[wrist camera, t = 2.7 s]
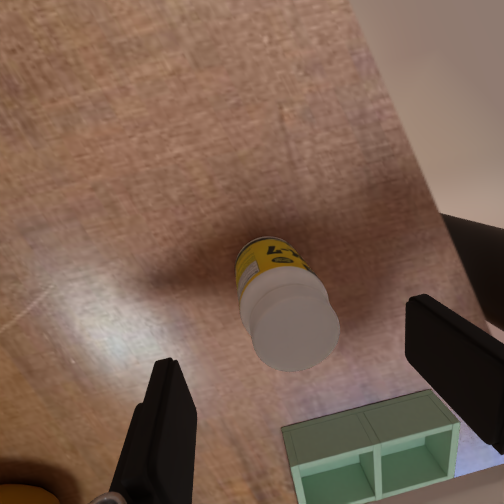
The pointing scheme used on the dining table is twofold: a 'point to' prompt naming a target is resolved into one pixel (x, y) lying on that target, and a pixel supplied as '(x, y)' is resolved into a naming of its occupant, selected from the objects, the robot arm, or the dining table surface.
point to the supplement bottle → (284, 306)
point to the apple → (25, 495)
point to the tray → (373, 450)
